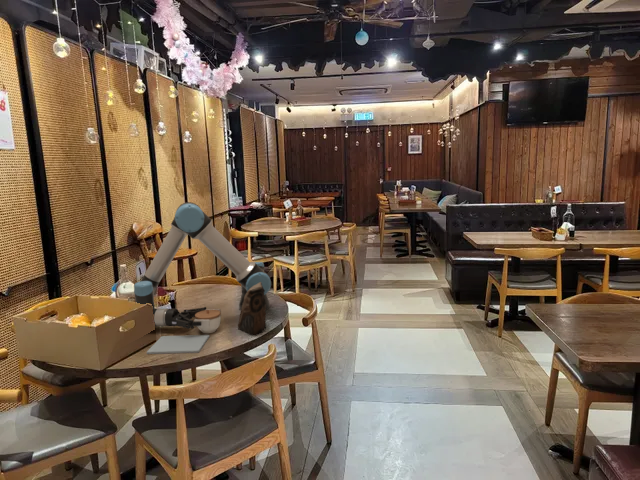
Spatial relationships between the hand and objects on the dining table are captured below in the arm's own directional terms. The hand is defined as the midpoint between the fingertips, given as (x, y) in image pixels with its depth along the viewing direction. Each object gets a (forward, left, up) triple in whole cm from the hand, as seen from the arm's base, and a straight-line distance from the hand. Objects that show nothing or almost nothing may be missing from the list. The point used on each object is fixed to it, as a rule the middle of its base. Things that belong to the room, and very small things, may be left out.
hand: (215, 317), depth 189 cm
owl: (-16, 0, -6) cm, 17 cm away
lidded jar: (+3, 0, -6) cm, 7 cm away
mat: (+11, +15, -6) cm, 19 cm away
